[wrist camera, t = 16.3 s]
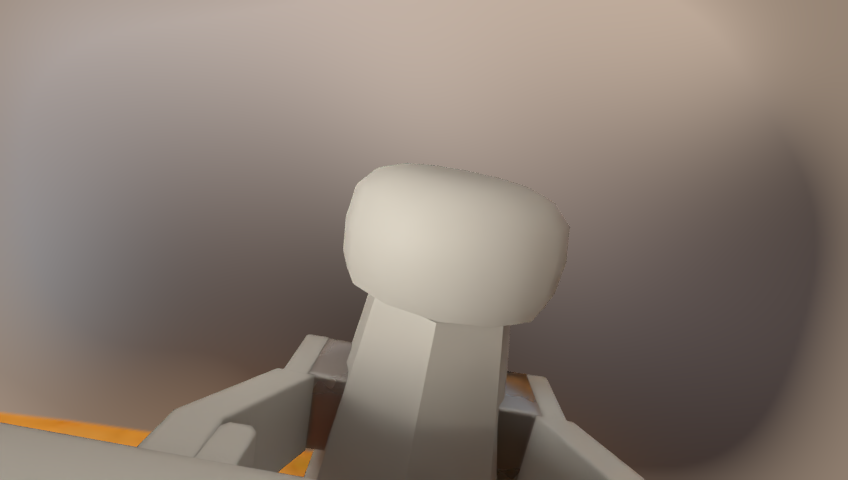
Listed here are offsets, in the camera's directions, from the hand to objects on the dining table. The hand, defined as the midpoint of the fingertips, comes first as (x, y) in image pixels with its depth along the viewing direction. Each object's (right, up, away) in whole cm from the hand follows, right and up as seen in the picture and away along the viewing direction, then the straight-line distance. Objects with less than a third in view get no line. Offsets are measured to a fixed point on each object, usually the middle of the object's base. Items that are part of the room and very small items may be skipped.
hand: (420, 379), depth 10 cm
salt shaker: (-1, -8, +1) cm, 8 cm away
